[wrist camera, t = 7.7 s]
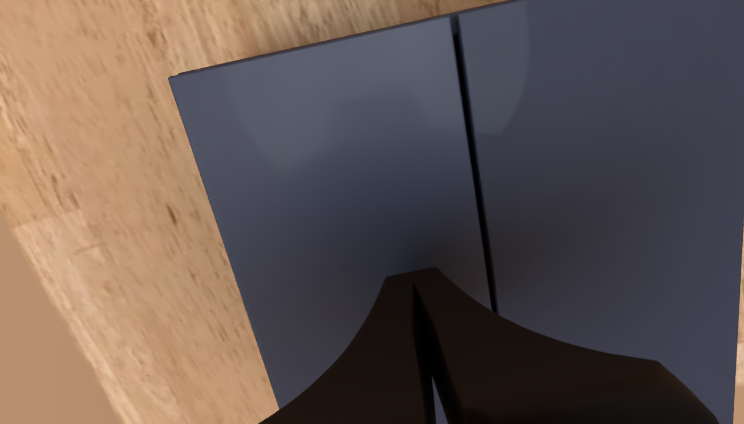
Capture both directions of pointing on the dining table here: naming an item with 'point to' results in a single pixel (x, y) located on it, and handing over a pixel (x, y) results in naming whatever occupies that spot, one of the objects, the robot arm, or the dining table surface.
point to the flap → (335, 184)
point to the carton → (611, 174)
